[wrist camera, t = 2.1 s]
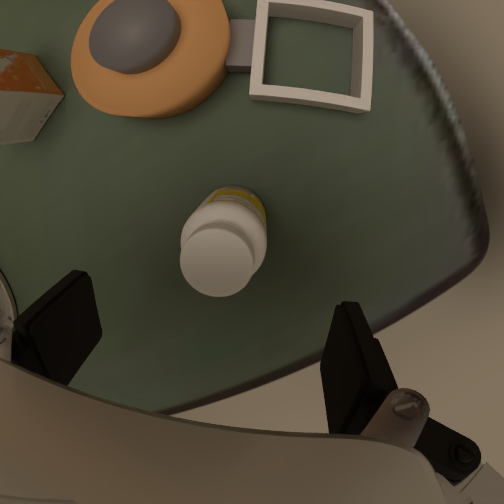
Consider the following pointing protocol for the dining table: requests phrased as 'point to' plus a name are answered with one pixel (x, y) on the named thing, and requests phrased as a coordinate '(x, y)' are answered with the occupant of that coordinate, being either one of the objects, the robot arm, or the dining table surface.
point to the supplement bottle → (224, 241)
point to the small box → (24, 97)
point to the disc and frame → (201, 54)
